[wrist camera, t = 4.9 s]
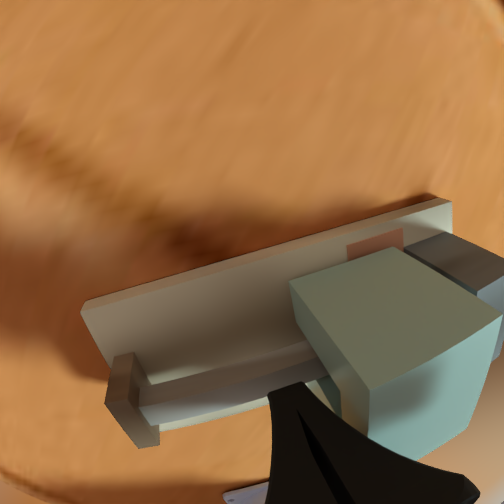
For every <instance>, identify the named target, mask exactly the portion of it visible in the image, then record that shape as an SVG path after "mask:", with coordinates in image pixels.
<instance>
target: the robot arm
mask: <svg viewBox="0 0 504 504" xmlns="http://www.w3.org/2000/svg"><path fill="white" fill-rule="evenodd" d="M267 398H268V401H269V405H270V411H271V420H272V455H271V468H270V477H269V481H268V482H265V483H261V484H258V485H254V486H250V487H246V488H242V489H238V490H234V491H230V492H226V493H224V494H223V499H224V500H225V502H226V503H227V504H474V503H475V502H476V500H477V499H478V498H479V497H480V491H479V490H478V489H477V487H476V486H475V485H474V484H473V483H472V482H471V481H470V480H469V479H468V478H466V477H465V476H464V475H462V474H458V473H453V472H449V471H445V470H441V469H438V468H434V467H431V466H428V465H425V464H422V463H419V462H417V461H414V460H412V459H410V458H407V457H405V456H402V455H400V454H398V453H395V452H393V451H391V450H390V449H388V448H386V447H384V446H382V445H380V444H378V443H377V442H375V441H373V440H371V439H370V438H368V437H367V436H365V435H363V434H362V433H360V432H359V431H358V430H356V429H355V428H353V427H352V426H350V425H349V424H348V423H346V422H345V421H344V420H343V419H341V418H340V417H339V416H338V415H336V414H335V413H334V412H333V411H332V410H330V409H329V408H328V407H327V406H326V405H325V404H324V403H323V402H322V401H321V400H320V399H319V398H318V397H317V396H316V395H315V394H314V393H313V392H312V391H311V390H310V389H309V388H308V387H307V385H306V384H305V383H304V382H302V381H300V382H297V383H294V384H291V385H288V386H286V387H283V388H280V389H277V390H274V391H270V392H269V393H268V394H267ZM501 504H504V501H503V502H502V503H501Z"/></svg>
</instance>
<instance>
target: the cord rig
mask: <svg viewBox="0 0 504 504" xmlns="http://www.w3.org/2000/svg"><path fill="white" fill-rule="evenodd" d="M392 246H393V247H395V248H397V249H399V250H400V251H402V252H404V253H406V254H407V255H409V256H411V257H413V258H414V259H416V260H418V261H419V262H421V263H423V264H424V265H426V266H428V267H429V268H431V269H433V270H434V271H436V272H438V273H439V274H441V275H443V276H444V277H446V278H448V279H449V280H451V281H452V282H454V283H456V284H457V285H459V286H461V287H462V288H464V289H465V290H467V291H468V292H470V293H472V294H473V295H475V296H476V297H478V298H479V299H481V300H482V301H484V302H486V303H487V304H489V305H490V306H492V307H493V308H495V309H496V310H498V311H499V312H501V313H502V314H503V317H502V321H501V326H500V330H499V334H498V338H497V342H496V345H495V349H494V353H493V356H492V360H491V362H492V361H493V360H494V359H496V358H497V357H498V356H499V354H500V351H501V347H502V344H503V340H504V258H502V257H500V256H498V255H496V254H494V253H492V252H490V251H488V250H486V249H483V248H481V247H479V246H477V245H475V244H473V243H471V242H468V241H466V240H464V239H462V238H460V237H457V236H455V235H453V234H452V201H449V200H446V199H443V198H440V197H439V198H436V199H432V200H429V201H425V202H422V203H418V204H415V205H412V206H408V207H405V208H401V209H398V210H395V211H391V212H388V213H384V214H381V215H378V216H374V217H371V218H367V219H364V220H361V221H357V222H354V223H350V224H347V225H343V226H340V227H337V228H333V229H330V230H326V231H323V232H320V233H316V234H313V235H309V236H306V237H303V238H299V239H296V240H292V241H289V242H285V243H282V244H279V245H275V246H272V247H268V248H265V249H262V250H258V251H255V252H251V253H248V254H245V255H241V256H238V257H234V258H231V259H227V260H224V261H221V262H217V263H214V264H210V265H207V266H204V267H200V268H197V269H193V270H190V271H186V272H183V273H180V274H176V275H173V276H169V277H166V278H163V279H159V280H156V281H152V282H149V283H146V284H142V285H139V286H135V287H132V288H128V289H125V290H122V291H118V292H115V293H111V294H108V295H105V296H101V297H98V298H94V299H91V300H87V301H85V303H84V305H83V307H82V309H81V311H80V314H81V316H82V318H83V320H84V322H85V324H86V326H87V328H88V329H89V331H90V333H91V335H92V337H93V339H94V341H95V343H96V345H97V346H98V348H99V350H100V352H101V354H102V355H103V357H104V359H105V361H106V362H107V364H108V366H109V368H110V369H111V373H110V377H109V382H108V387H107V392H106V397H105V402H104V404H105V405H106V407H107V408H108V409H109V411H110V412H111V414H112V415H113V416H114V418H115V419H116V420H117V422H118V423H119V424H120V426H121V427H122V428H123V430H124V431H125V432H126V434H127V435H128V436H129V437H130V439H131V440H132V441H133V442H134V444H135V445H136V446H137V447H138V449H140V448H146V447H152V446H158V445H160V433H159V432H162V431H167V430H172V429H177V428H181V427H186V426H190V425H195V424H199V423H203V422H207V421H211V420H215V419H219V418H223V417H227V416H230V415H234V414H237V413H241V412H244V411H248V410H251V409H255V408H258V407H261V406H264V405H268V404H269V401H268V398H267V394H268V393H269V392H270V391H274V390H277V389H280V388H283V387H286V386H288V385H291V384H294V383H297V382H300V381H302V382H304V383H305V384H306V385H307V383H308V382H311V381H314V380H316V379H319V378H322V377H324V376H327V375H329V373H328V371H327V370H326V368H325V366H324V365H323V363H322V362H321V360H320V359H319V357H318V355H317V354H316V352H315V351H314V349H313V348H312V346H311V344H310V343H309V341H308V340H307V338H306V337H305V335H304V334H303V332H302V330H301V329H300V327H299V326H298V324H297V323H296V319H295V314H294V308H293V303H292V298H291V293H290V288H289V283H288V281H290V280H293V279H296V278H300V277H303V276H306V275H309V274H312V273H315V272H318V271H321V270H324V269H327V268H330V267H333V266H337V265H340V264H343V263H346V262H349V261H352V260H354V259H357V258H360V257H363V256H366V255H369V254H372V253H375V252H378V251H381V250H384V249H387V248H390V247H392ZM307 387H308V385H307ZM308 388H309V387H308Z"/></svg>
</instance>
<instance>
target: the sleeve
mask: <svg viewBox="0 0 504 504" xmlns="http://www.w3.org/2000/svg"><path fill="white" fill-rule="evenodd" d="M288 283H289V288H290V293H291V298H292V303H293V308H294V314H295V319H296V323H297V324H298V326H299V327H300V329H301V330H302V332H303V334H304V335H305V337H306V338H307V340H308V341H309V343H310V344H311V346H312V348H313V349H314V351H315V352H316V354H317V355H318V357H319V359H320V360H321V362H322V363H323V365H324V366H325V368H326V370H327V371H328V373H329V375H327V376H324V377H322V378H319V379H316V380H314V381H311V382H308V383H307V385H308V387H309V389H310V390H311V391H312V392H313V393H314V394H315V395H316V396H317V397H318V398H319V399H320V400H321V401H322V402H323V403H324V404H325V405H326V406H327V407H328V408H329V409H330V410H332V411H333V412H334V413H335V414H336V415H338V416H339V417H340V418H341V419H343V420H344V421H345V422H346V423H348V424H349V425H350V426H352V427H353V428H355V429H356V430H358V431H359V432H360V433H362V434H363V435H365V436H367V437H368V438H370V439H371V440H373V441H375V442H377V443H378V444H380V445H382V446H384V447H386V448H388V449H390V450H391V451H393V452H395V453H398V454H400V455H402V456H405V457H407V458H410V459H412V460H414V461H416V460H418V459H420V458H422V457H423V456H425V455H427V454H428V453H430V452H432V451H433V450H435V449H436V448H438V447H440V446H441V445H443V444H444V443H446V442H447V441H449V440H450V439H452V438H453V437H455V436H456V435H458V434H459V433H461V432H462V431H463V430H465V429H466V428H467V426H468V424H469V422H470V419H471V417H472V414H473V412H474V409H475V407H476V404H477V401H478V399H479V396H480V393H481V390H482V387H483V385H484V382H485V379H486V376H487V373H488V369H489V366H490V363H491V360H492V356H493V353H494V349H495V345H496V342H497V338H498V334H499V330H500V326H501V321H502V317H503V314H502V313H501V312H499V311H498V310H496V309H495V308H493V307H492V306H490V305H489V304H487V303H486V302H484V301H482V300H481V299H479V298H478V297H476V296H475V295H473V294H472V293H470V292H468V291H467V290H465V289H464V288H462V287H461V286H459V285H457V284H456V283H454V282H452V281H451V280H449V279H448V278H446V277H444V276H443V275H441V274H439V273H438V272H436V271H434V270H433V269H431V268H429V267H428V266H426V265H424V264H423V263H421V262H419V261H418V260H416V259H414V258H413V257H411V256H409V255H407V254H406V253H404V252H402V251H400V250H399V249H397V248H395V247H393V246H392V247H390V248H387V249H384V250H381V251H378V252H375V253H372V254H369V255H366V256H363V257H360V258H357V259H354V260H352V261H349V262H346V263H343V264H340V265H337V266H333V267H330V268H327V269H324V270H321V271H318V272H315V273H312V274H309V275H306V276H303V277H300V278H296V279H293V280H290V281H288Z"/></svg>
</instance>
